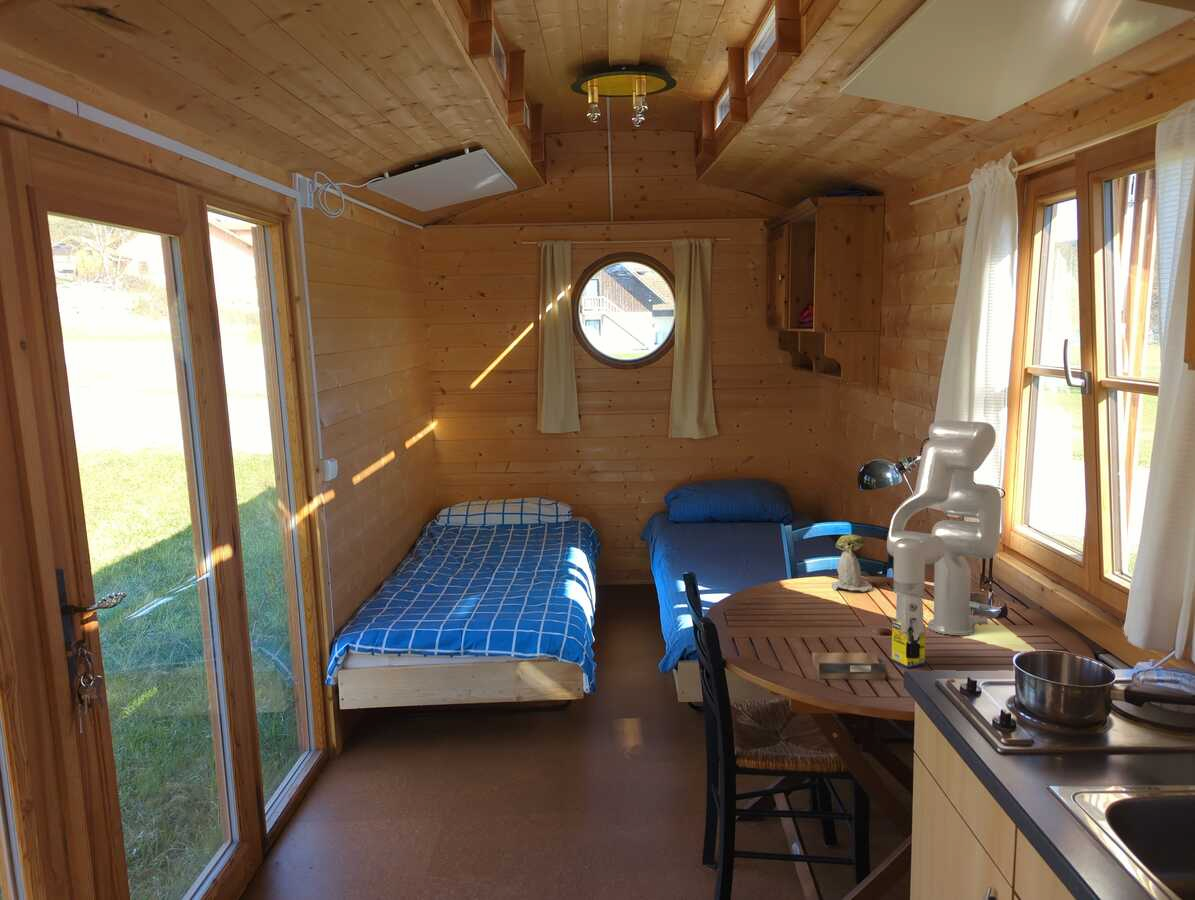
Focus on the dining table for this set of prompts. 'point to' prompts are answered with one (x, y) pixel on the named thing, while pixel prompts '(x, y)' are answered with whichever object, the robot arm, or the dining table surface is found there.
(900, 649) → the supplement box
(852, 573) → the clay mushroom sculpture
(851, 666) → the flat box
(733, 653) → the dining table surface
